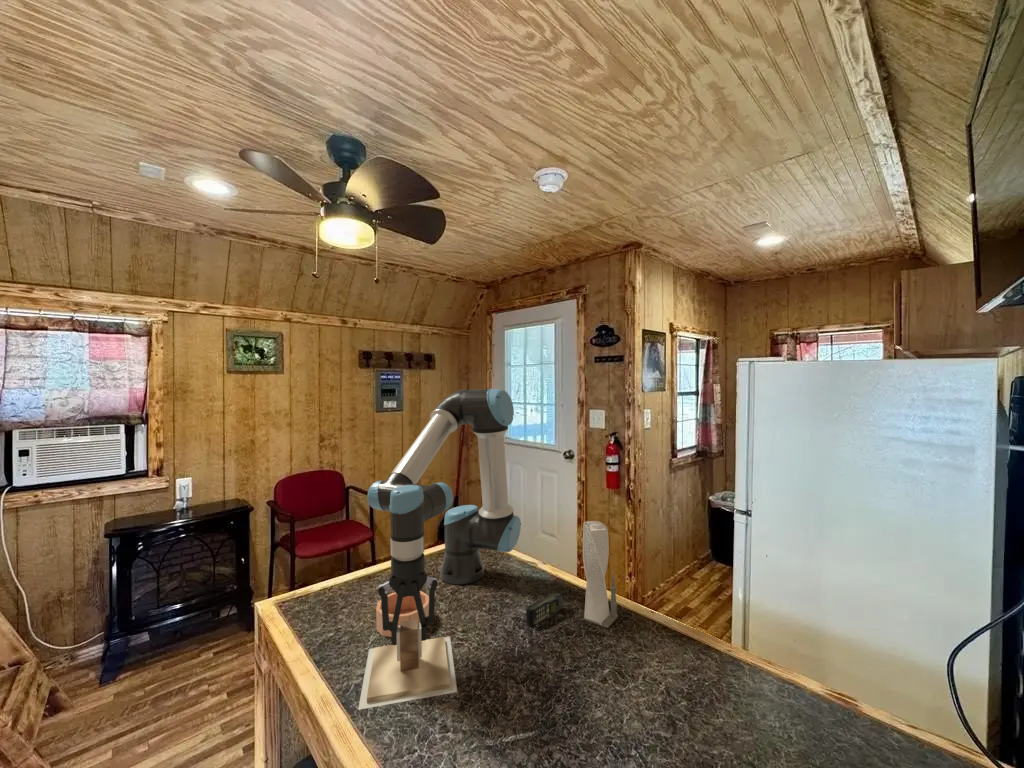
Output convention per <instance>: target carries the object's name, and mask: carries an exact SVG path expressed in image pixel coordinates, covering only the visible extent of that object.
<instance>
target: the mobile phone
mask: <svg viewBox="0 0 1024 768" xmlns="http://www.w3.org/2000/svg"><path fill="white" fill-rule="evenodd" d="M563 602H564V597H563V595H562V594H561V593H559V592H555V593H552V594H550V595H547V596H545V597H544V598H542V599H540V600H538V601H536V602H534V603H532V604H530V605H529V606H528V607H527V608H526V610H525V614H526V615H525V617H526V618H525V620H526V621H525V622H526V625H527V626H528V627H531V628H532V627H534V626H536V625H537V624H539V623H541V622H543V621H544V620H546V619H548V618H550V617H553V616H555V615H556V614H557V613H559V612H560V610H562V608H563V604H564V603H563Z"/></svg>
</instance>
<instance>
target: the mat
mask: <svg viewBox="0 0 1024 768" xmlns="http://www.w3.org/2000/svg"><path fill="white" fill-rule="evenodd" d="M444 637H445V636H444ZM445 646H446V655H447V664H448V673H449V682H450V688H447V689H442V690H436V691H430V692H425V693H419V694H414V695H408V696H402V697H397V698H391V699H386V700H380V701H374V702H369V703H367V693H368V687H369V681H370V675H371V668H372V662H373V656H374V650H375V647H373V648H369V649H368V655H367V659H366V664H365V670H364V674H363V675H364V676H363V680H362V685H361V692H360V697H359V702H358V711H360V710H365V709H373V708H376V707H382V706H388V705H392V704H399V703H403V702H410V701H415V700H420V699H425V698H432V697H436V696H443V695H448V694H454V693H458V687H457V679H456V673H455V672H456V671H455V664H454V655H453V650H452V641H451V636H446V637H445Z"/></svg>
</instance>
